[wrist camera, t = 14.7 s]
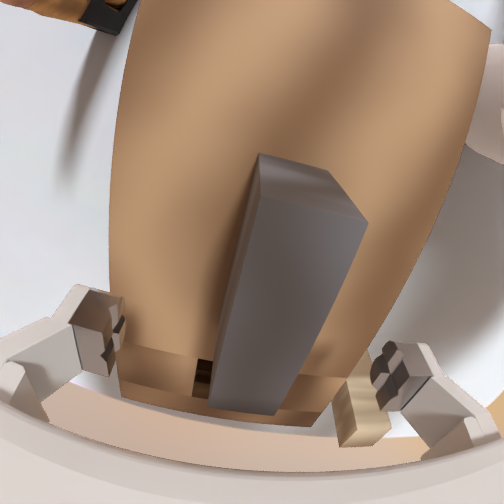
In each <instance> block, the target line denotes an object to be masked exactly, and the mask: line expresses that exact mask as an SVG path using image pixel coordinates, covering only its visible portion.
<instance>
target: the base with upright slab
mask: <svg viewBox="0 0 504 504" xmlns="http://www.w3.org/2000/svg"><path fill="white" fill-rule="evenodd" d="M465 143H466V144H467V146H468V147H470V148H471V149H473V150H474V151H476V152H477V153H479V154H481V155H483V156H486V157H488V158H490V159H492V160H494V161H496V162H498V163H500V164H502V165H504V44H489V48H488V54H487V59H486V65H485V69H484V74H483V79H482V83H481V88H480V92H479V96H478V100H477V104H476V107H475V111H474V115H473V118H472V122H471V125H470V129H469V132H468V135H467V138H466V142H465Z"/></svg>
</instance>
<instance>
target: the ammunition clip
mask: <svg viewBox="0 0 504 504" xmlns="http://www.w3.org/2000/svg"><path fill="white" fill-rule="evenodd" d="M136 1H137V0H0V2H3V3H5V4H8V5H12V6H16V7H21V8H24V9H27V10H31V11H34V12H36V13H37V14H40V15H42V16H46V17H51V18H56V19H61V20H65V21H69V22H74V23H78V24H82V25H84V26H87V27H90V28H93V29H95V30H99V31H102V32H105V33H109V34H112V35H115V36H116V35H117V34H119V32H120V30H121V29H122V27H123V25H124V23H125V21H126V19H127V17H128V15H129V14H130V12H131V10H132V8H133V6H134V5H135V3H136Z"/></svg>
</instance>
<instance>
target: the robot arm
mask: <svg viewBox="0 0 504 504" xmlns="http://www.w3.org/2000/svg"><path fill="white" fill-rule="evenodd" d="M124 309H125V298H124V297H123V296H121V295H117V294H113V293H109V292H106V291H102V290H99V289H95V288H90V287H87V286H84V285H80V284H76V285H74V286H73V287H72V289H71V290H70V292H69V293H68V294H67V296H66V297H65V299H64V300H63V301H62V303H61V304H60V306H59V307H58V308H57V310H56V311H55V313H54V314H53V316H52V317H51V318H49V317H45V318H43V319H41V320H39V321H36V322H34V323H32V324H30V325H28V326H26V327H23V328H21V329H19V330H17V331H15V332H13V333H11V334H8V335H6V336H4V337H2V338H0V504H504V438H501V436H500V433H499V431H498V429H497V427H496V425H495V422H494V420H493V418H492V416H491V414H490V412H489V411H488V410H487V409H485V408H484V407H483V406H482V405H481V404H480V403H478V402H477V401H476V400H475V399H474V398H473V397H471V396H470V395H469V394H468V393H467V392H465V391H464V390H463V389H462V388H461V387H460V386H458V385H457V384H456V383H455V382H454V381H452V380H451V379H450V378H449V377H445V376H444V374H443V372H442V370H441V368H440V366H439V364H438V362H437V360H436V358H435V357H434V355H433V353H432V351H431V349H430V347H429V345H427V344H426V343H420V342H401V341H389V342H387V343H386V344H385V345H384V347H383V348H382V352H383V354H382V355H380V356H379V357H377V358H376V359H375V361H374V362H373V364H372V365H371V370H370V380H371V384H372V386H373V387H374V388H375V389H377V393H376V395H375V396H376V400H377V403H378V406H379V409H380V411H401V412H400V413H401V414H402V415H403V416H404V418H405V419H406V420H407V421H408V422H409V424H410V425H411V426H412V427H413V428H414V430H415V431H416V432H417V433H418V434H419V436H420V437H421V438H422V439H423V440H424V442H425V443H426V444H427V445H428V447H429V448H430V449H429V450H428V451H427V452H426V453H424V454H423V455H422V457H421V461H416V462H410V463H405V464H398V465H392V466H385V467H377V468H368V469H358V470H346V471H329V472H268V471H251V470H238V469H229V468H220V467H212V466H204V465H198V464H192V463H185V462H180V461H174V460H169V459H164V458H159V457H155V456H151V455H146V454H142V453H138V452H134V451H130V450H126V449H123V448H119V447H116V446H112V445H109V444H105V443H102V442H99V441H96V440H93V439H90V438H87V437H83V436H81V435H78V434H75V433H73V432H70V431H67V430H64V429H62V428H59V427H57V426H54V425H52V424H50V423H49V418H48V416H47V414H46V412H45V411H44V408H43V407H42V405H41V403H40V402H42V401H43V400H44V399H46V398H47V397H48V396H50V395H51V394H52V393H54V392H55V391H56V390H58V389H59V388H60V387H61V386H63V385H64V384H66V383H67V382H68V381H70V380H71V379H72V378H74V377H75V376H77V375H78V374H79V373H81V372H82V370H85V371H88V372H92V373H95V374H99V375H103V376H107V377H109V375H110V373H111V370H112V368H113V365H114V363H115V360H116V359H115V352H116V351H117V350H119V349H120V348H121V345H122V343H123V339H124V335H125V327H126V319H125V318H124V316H123V315H122V313H123V311H124Z"/></svg>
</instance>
